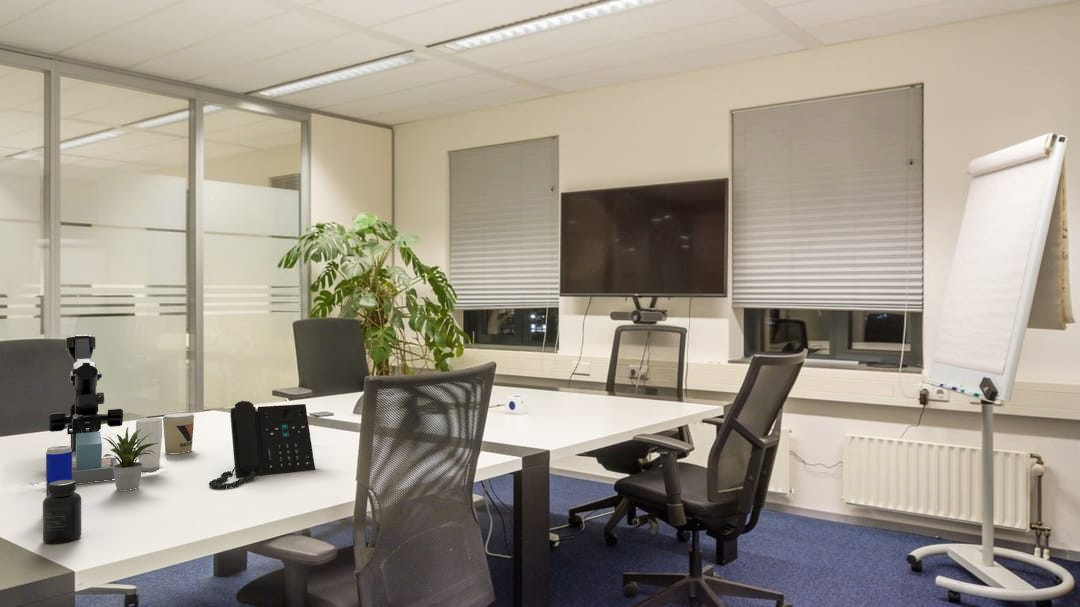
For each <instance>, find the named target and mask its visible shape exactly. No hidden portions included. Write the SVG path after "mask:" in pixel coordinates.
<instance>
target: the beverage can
mask: <svg viewBox="0 0 1080 607" xmlns="http://www.w3.org/2000/svg"><path fill="white" fill-rule="evenodd" d="M45 452H46V453H45V466H46V467H45V470H46V471H45V472H46V473H45V474H46V476H45V477H46V478H45V479H46V480H45V484H46V486H45V488H46V490H45V491H46V493H45V494H46V495H45V496H46V497H47V496H49V495H50V493H48V485H49V483H51V482H55V481H60V480H72V471H73V469H72V461H73V452H72V449H71V445H70V446H69V445H58V446H57V445H56V446H52V447H47V449H46V451H45ZM46 497H45V498H46Z"/></svg>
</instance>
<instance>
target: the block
mask: <svg viewBox="0 0 1080 607" xmlns="http://www.w3.org/2000/svg"><path fill="white" fill-rule="evenodd" d="M99 437H100V438H99ZM102 441H103V440H102V435H101V431H98V432H90V433H78V434H76V451H75V461H76V469H75V470H76V471H79V470H88V469H97V468H102V466H101V460H102V458H103V457H102V456H103V454H102V453H103V450H102V448H103V447H102V446H103V442H102Z"/></svg>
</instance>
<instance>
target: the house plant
mask: <svg viewBox="0 0 1080 607" xmlns="http://www.w3.org/2000/svg"><path fill="white" fill-rule="evenodd" d="M140 431H141V430H137V431H136V430H135V431H134V432H133V434H132V436H131V437H130V439H129V433H128V432H129V426H127V428H126V430H125V436H124V438H122V436H121V435H119V434H118V433H116V434H114V436H115V437H117V438H118V441H119V442H117V443H116V442H115V440H113V438H111V437H110V436H109V435H108V436H107V435H106V434H105V437H103V439H104V440H106V441H107V442H109V443H110V445H111V446H112V447H113V448H111V449H110V452H113V453H114V454H116V455H117V456H116V455H113V454H110V453H106V454H104V455H103V458H106V459H109V458H110V457H111V456H113V458H114V459H116V461H117V462H118V464H116V465H113V466H111V467H112V468H113V473H114V478H115V480H114V482H115V488H116V491H118V490H129V491H131V490H130V489H134V490H136V489H135V488H137V489H139V488H138V487H140V483H141V477H142V473H143V472H142V470H143V468H142V466H143V463H140V462H139V461H138V456H140V455H141V456H142V455H143V454H150V453H145V452H146V451H151V450H146V451H143V452H144V453H143V452H141V451H142V450H143V449H145V448H147V447H149V446H152V445H154V444H158V443H150V444H146V445H143V446H138V445H139V444H140V443H141V442H142V441H143V440H144V439H145V438H146V437H147V436H148V435H150V434H152V433H150V434H148V435H147V436H145V437H144V438H143V439H142V440H141V439H139V440H141V441H140V442H139V443H138V444H137V442H138V441H139V440H138V441H137V434H138V433H139V432H140ZM153 433H154V432H153ZM109 434H110V435H112V433H109ZM106 436H107V438H106ZM148 437H150V436H148ZM99 438H100V437H99ZM108 438H109V439H108ZM138 447H139V448H138ZM137 448H138V449H137ZM151 452H153V451H151ZM141 453H142V454H141ZM150 455H151V454H150ZM141 456H140V457H141Z"/></svg>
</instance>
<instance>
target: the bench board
mask: <svg viewBox="0 0 1080 607" xmlns="http://www.w3.org/2000/svg"><path fill="white" fill-rule="evenodd" d="M106 458H107V457H102V460H101V467H103V466H111V458H112V457H111V456H109V457H108V458H109V459H106ZM73 469H75V470H77V469H76V460H74V461H73V460H72V470H73Z"/></svg>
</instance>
